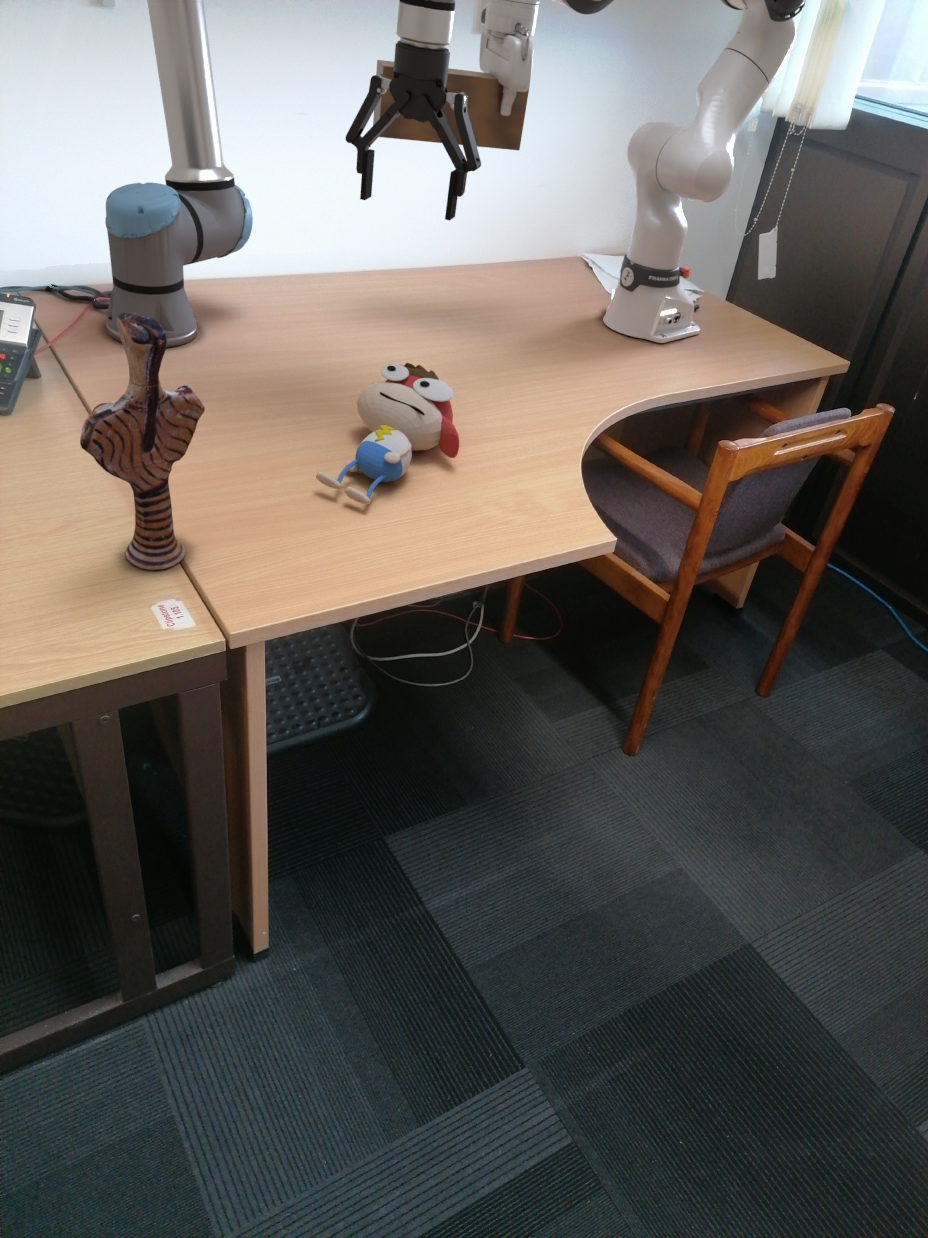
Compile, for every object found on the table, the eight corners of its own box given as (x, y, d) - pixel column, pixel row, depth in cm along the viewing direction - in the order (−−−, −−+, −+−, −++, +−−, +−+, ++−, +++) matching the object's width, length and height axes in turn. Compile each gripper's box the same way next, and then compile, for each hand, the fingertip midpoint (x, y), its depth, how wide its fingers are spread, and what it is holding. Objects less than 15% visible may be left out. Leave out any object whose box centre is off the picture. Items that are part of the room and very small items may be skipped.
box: (378, 136, 157) (383, 65, 150) (372, 129, 161) (377, 59, 154) (519, 150, 164) (530, 82, 157) (510, 142, 169) (520, 76, 162)
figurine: (185, 519, 115) (170, 285, 96) (226, 544, 112) (219, 308, 93) (85, 564, 105) (47, 314, 86) (127, 593, 102) (97, 341, 83)
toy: (278, 428, 121) (396, 343, 140) (277, 485, 128) (389, 398, 148) (391, 486, 117) (497, 391, 136) (384, 542, 124) (485, 444, 143)
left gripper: (517, 58, 122) (492, 220, 135) (349, 23, 126) (341, 184, 139) (503, 63, 116) (478, 232, 130) (327, 26, 120) (321, 194, 133)
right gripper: (547, 31, 146) (532, 124, 155) (511, 14, 161) (499, 100, 170) (511, 26, 145) (498, 121, 153) (478, 9, 160) (467, 96, 168)
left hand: (407, 208), depth 134 cm, fingers open, 13 cm apart
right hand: (498, 110), depth 162 cm, fingers closed on box, 6 cm apart
